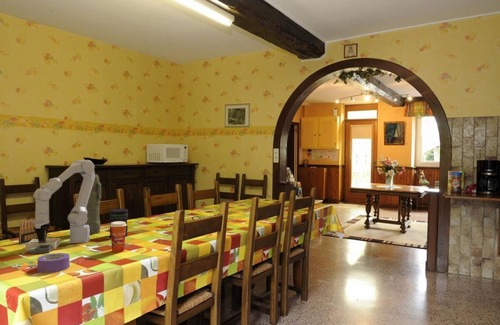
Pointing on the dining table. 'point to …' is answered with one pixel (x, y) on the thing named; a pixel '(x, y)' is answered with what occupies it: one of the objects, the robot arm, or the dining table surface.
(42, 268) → the tape roll
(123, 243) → the paper cup
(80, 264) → the dining table surface
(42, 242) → the battery cell
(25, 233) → the ammunition clip
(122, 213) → the storage jar
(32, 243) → the trough tray
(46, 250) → the checker cradle
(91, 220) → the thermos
